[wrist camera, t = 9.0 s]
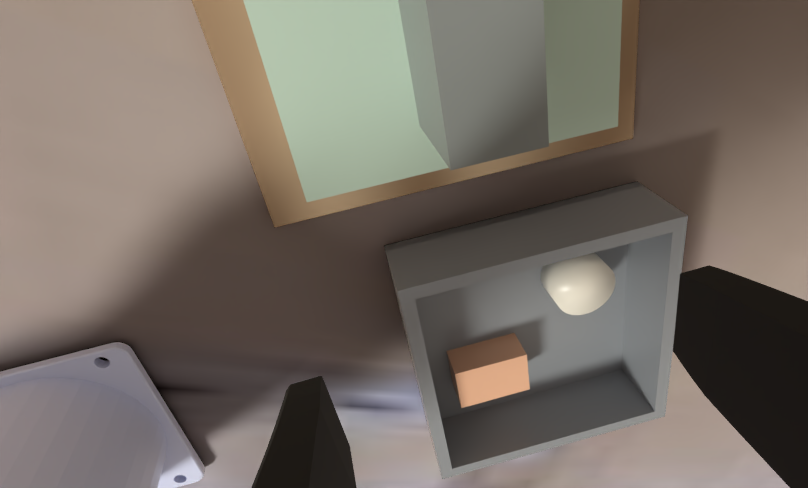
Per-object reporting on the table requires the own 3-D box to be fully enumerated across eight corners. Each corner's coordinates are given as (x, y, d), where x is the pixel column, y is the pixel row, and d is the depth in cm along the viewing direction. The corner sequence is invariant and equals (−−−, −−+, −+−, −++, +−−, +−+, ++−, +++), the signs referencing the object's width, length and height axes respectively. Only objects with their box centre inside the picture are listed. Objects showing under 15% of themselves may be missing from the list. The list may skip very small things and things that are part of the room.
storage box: (427, 423, 24) (442, 479, 22) (384, 245, 19) (397, 291, 16) (627, 368, 25) (664, 416, 22) (637, 181, 20) (687, 215, 17)
